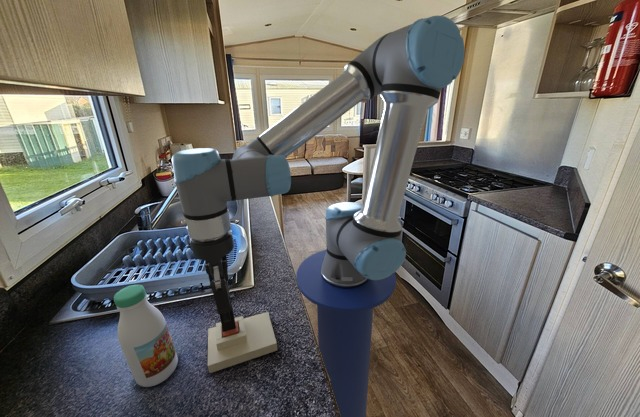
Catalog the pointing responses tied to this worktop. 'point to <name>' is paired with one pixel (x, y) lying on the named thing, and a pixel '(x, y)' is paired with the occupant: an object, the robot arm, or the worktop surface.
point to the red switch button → (231, 331)
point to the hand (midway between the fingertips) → (229, 327)
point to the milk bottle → (144, 337)
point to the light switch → (240, 342)
